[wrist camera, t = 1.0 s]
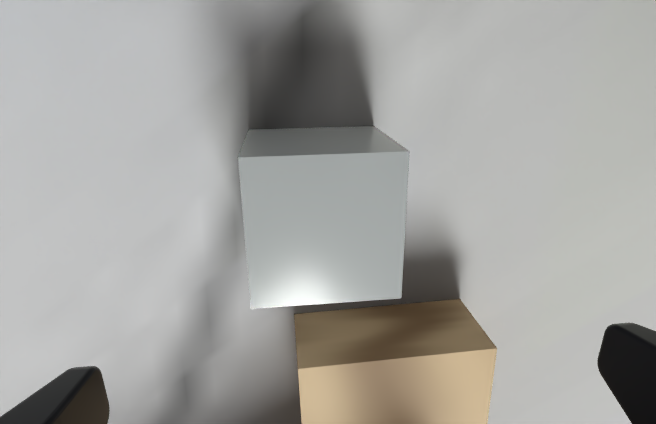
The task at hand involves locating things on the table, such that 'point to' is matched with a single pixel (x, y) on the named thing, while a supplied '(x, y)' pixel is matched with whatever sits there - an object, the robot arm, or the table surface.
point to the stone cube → (323, 215)
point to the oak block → (394, 365)
